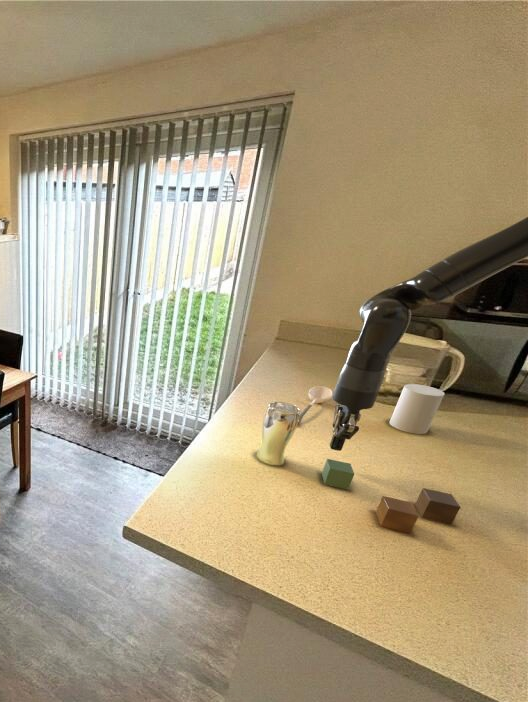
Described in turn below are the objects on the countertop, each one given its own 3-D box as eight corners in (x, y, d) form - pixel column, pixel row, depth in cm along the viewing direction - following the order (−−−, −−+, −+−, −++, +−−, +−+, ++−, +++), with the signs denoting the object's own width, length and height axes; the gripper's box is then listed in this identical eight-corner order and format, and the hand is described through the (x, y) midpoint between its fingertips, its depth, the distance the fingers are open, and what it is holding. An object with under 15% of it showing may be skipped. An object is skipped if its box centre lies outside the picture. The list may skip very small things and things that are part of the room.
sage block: (344, 479, 93) (350, 463, 91) (348, 490, 90) (354, 473, 88) (321, 474, 95) (326, 458, 93) (324, 484, 92) (329, 468, 90)
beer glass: (271, 450, 105) (285, 399, 99) (292, 464, 99) (308, 412, 93) (248, 452, 104) (261, 402, 98) (268, 468, 98) (283, 415, 92)
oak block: (403, 519, 81) (411, 502, 79) (410, 533, 77) (419, 516, 75) (375, 512, 83) (382, 495, 81) (380, 526, 79) (388, 508, 77)
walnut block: (442, 511, 83) (451, 494, 81) (451, 524, 79) (461, 507, 77) (414, 504, 85) (422, 487, 83) (421, 517, 81) (430, 500, 79)
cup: (433, 435, 110) (451, 397, 105) (397, 431, 113) (413, 393, 108) (418, 422, 117) (434, 386, 112) (384, 418, 120) (398, 382, 115)
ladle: (333, 397, 132) (337, 385, 129) (303, 439, 117) (307, 426, 115) (312, 391, 136) (315, 379, 134) (280, 430, 121) (283, 418, 119)
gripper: (387, 398, 83) (360, 466, 89) (372, 377, 93) (348, 439, 100) (343, 392, 86) (320, 458, 93) (333, 372, 96) (313, 432, 103)
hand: (335, 448), depth 96 cm, fingers closed
